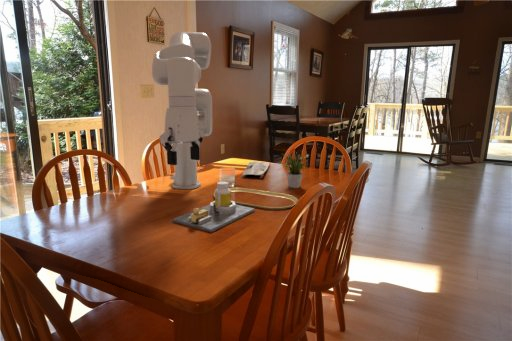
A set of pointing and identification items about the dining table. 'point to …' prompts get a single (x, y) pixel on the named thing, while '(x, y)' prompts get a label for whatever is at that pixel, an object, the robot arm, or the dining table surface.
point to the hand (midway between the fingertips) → (184, 162)
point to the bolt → (198, 214)
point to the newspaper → (256, 168)
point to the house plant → (294, 171)
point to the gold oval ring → (265, 194)
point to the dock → (215, 216)
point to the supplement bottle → (222, 195)
